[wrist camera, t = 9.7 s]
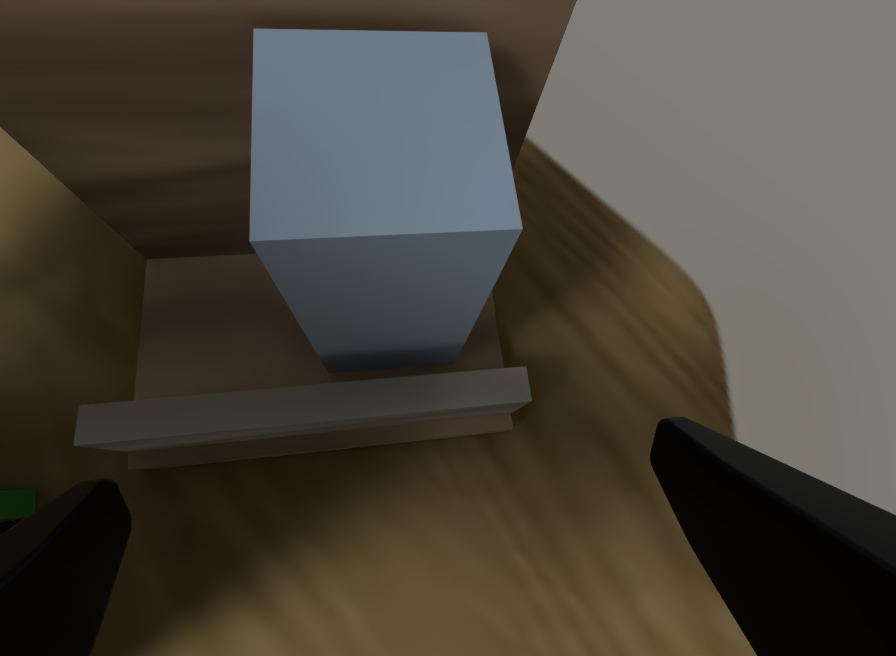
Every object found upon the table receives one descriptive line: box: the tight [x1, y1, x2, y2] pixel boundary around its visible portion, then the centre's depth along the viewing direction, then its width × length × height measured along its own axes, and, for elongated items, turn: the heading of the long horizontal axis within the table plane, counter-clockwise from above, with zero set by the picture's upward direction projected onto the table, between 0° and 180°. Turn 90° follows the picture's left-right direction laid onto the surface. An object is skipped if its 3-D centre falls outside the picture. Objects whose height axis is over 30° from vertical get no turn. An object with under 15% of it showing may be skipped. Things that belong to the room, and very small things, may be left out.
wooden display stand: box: [0, 0, 577, 470], centre depth 13 cm, size 10×14×13 cm
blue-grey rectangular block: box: [249, 29, 523, 373], centre depth 14 cm, size 5×5×10 cm
